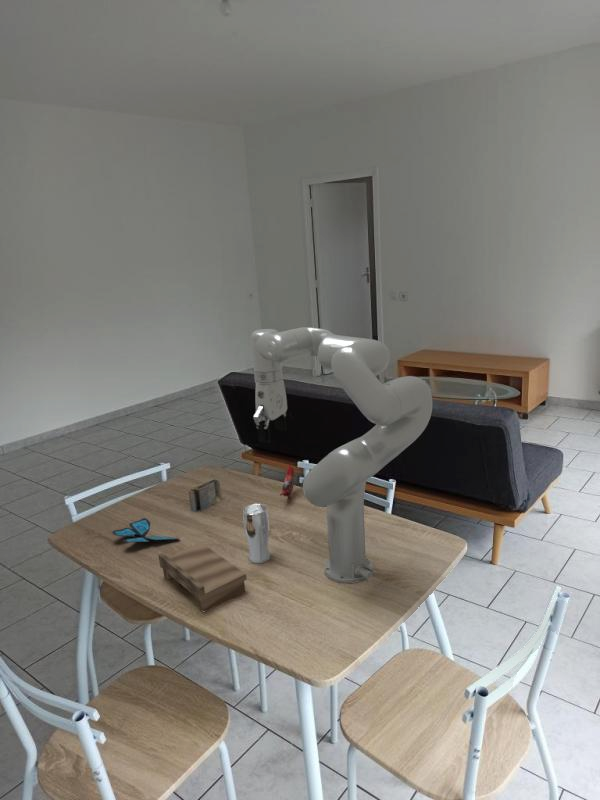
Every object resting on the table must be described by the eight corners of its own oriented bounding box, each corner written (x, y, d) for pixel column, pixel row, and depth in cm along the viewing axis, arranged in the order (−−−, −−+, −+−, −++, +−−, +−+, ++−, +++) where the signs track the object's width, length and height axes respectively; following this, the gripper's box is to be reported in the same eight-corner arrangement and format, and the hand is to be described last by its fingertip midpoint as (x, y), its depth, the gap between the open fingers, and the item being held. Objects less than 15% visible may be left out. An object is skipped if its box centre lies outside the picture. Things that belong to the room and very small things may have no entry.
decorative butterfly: (105, 534, 180) (104, 526, 179) (147, 521, 189) (146, 512, 189) (137, 561, 166) (136, 552, 165) (181, 544, 175) (180, 535, 174)
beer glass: (244, 564, 160) (239, 514, 156) (250, 551, 166) (245, 503, 162) (269, 564, 159) (264, 514, 154) (274, 551, 165) (270, 503, 161)
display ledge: (247, 591, 147) (245, 567, 145) (203, 614, 140) (199, 588, 138) (203, 558, 164) (201, 536, 162) (161, 577, 156) (158, 554, 154)
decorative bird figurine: (297, 489, 204) (295, 463, 202) (285, 512, 188) (283, 484, 185) (289, 489, 205) (287, 463, 202) (277, 512, 189) (274, 484, 186)
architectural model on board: (196, 513, 193) (193, 486, 190) (191, 511, 195) (187, 484, 192) (222, 501, 201) (219, 475, 198) (216, 499, 203) (213, 473, 200)
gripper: (265, 384, 147) (270, 448, 151) (294, 369, 162) (298, 427, 166) (239, 383, 150) (245, 445, 155) (271, 367, 165) (275, 425, 170)
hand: (273, 436), depth 160 cm, fingers open, 9 cm apart
